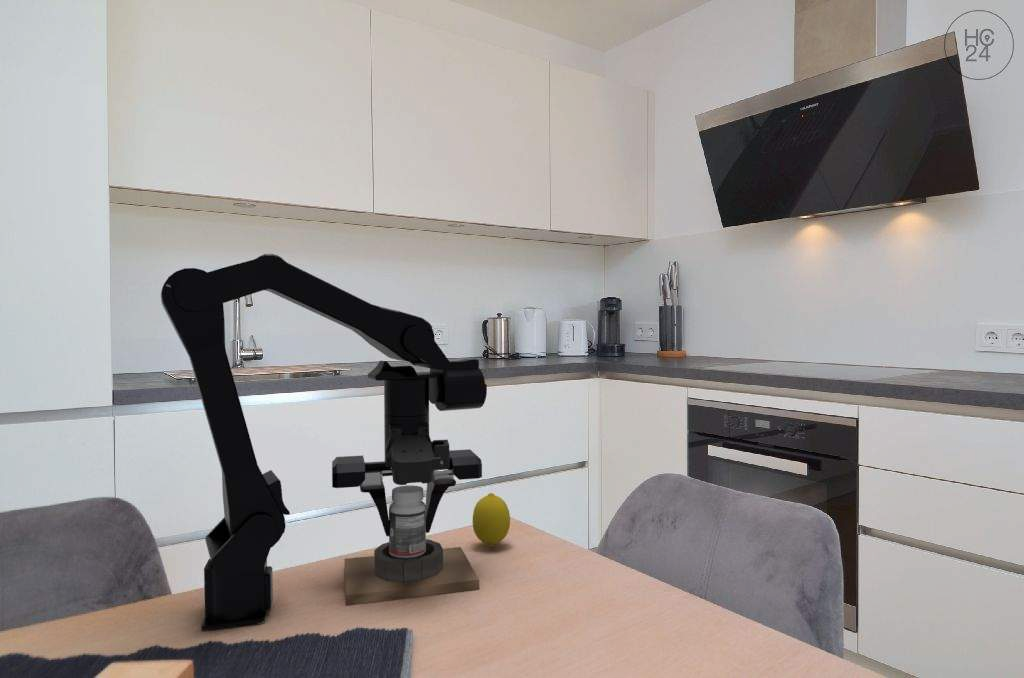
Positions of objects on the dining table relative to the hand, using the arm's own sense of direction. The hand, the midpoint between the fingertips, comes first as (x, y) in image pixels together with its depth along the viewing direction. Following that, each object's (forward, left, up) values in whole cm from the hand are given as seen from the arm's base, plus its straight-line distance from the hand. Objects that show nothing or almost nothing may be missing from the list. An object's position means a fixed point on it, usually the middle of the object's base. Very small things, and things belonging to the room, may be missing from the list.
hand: (407, 533), depth 83 cm
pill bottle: (0, 0, -3) cm, 3 cm away
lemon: (+13, +8, -6) cm, 17 cm away
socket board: (0, 0, -6) cm, 6 cm away
